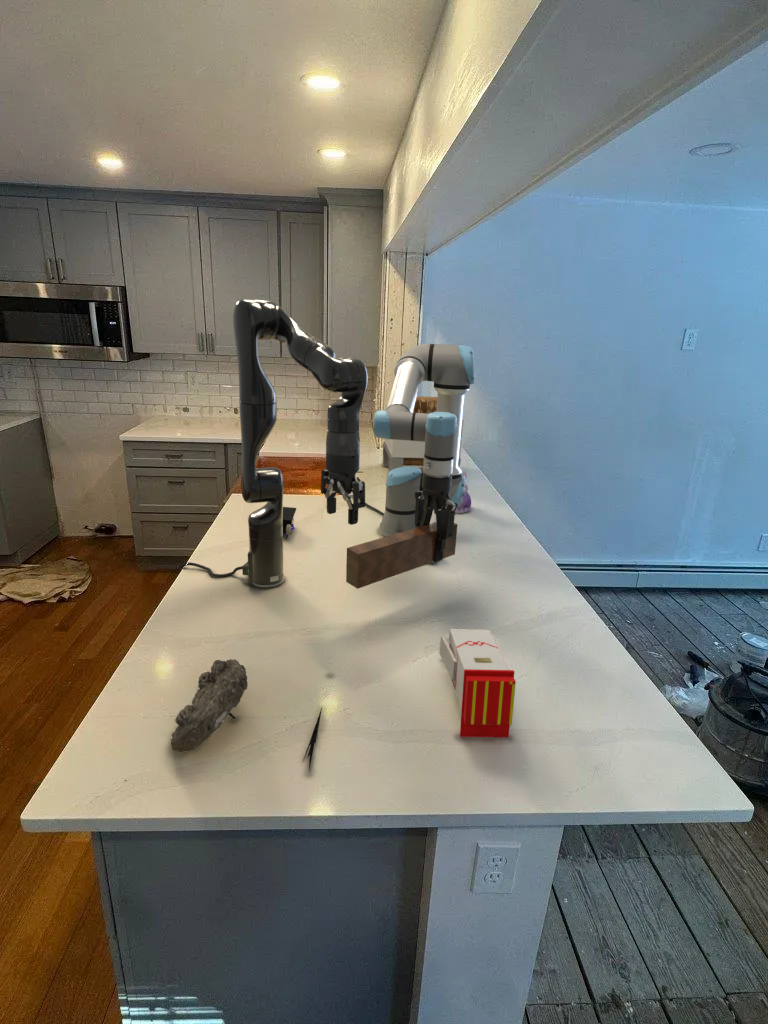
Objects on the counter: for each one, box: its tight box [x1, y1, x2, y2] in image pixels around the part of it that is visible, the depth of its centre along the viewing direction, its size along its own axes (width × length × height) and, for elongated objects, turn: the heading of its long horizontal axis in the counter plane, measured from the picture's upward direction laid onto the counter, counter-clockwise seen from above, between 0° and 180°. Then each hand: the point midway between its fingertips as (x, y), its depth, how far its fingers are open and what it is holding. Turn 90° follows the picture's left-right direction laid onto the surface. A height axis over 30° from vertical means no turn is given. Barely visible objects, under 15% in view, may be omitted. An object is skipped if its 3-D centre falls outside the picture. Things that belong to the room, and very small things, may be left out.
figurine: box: [455, 472, 472, 514], centre depth 224 cm, size 9×10×15 cm
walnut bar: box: [345, 521, 459, 590], centre depth 145 cm, size 34×4×9 cm, turn 131°
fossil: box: [170, 658, 249, 753], centre depth 106 cm, size 22×10×15 cm
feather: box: [301, 673, 332, 771], centre depth 108 cm, size 2×28×2 cm
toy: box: [438, 628, 517, 738], centre depth 117 cm, size 12×13×30 cm
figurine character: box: [282, 506, 297, 540], centre depth 194 cm, size 7×8×15 cm
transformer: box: [381, 395, 464, 473], centre depth 268 cm, size 34×33×41 cm
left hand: (341, 518), depth 132 cm, fingers open, 8 cm apart
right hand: (431, 556), depth 153 cm, fingers closed on walnut bar, 4 cm apart
